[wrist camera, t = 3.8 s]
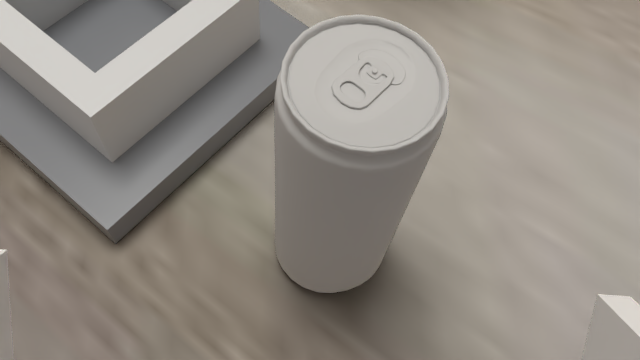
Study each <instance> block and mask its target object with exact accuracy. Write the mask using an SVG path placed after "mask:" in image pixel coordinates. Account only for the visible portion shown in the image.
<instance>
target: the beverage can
mask: <svg viewBox="0 0 640 360" xmlns="http://www.w3.org/2000/svg"><path fill="white" fill-rule="evenodd" d="M448 100H449V79H448V76H447V73H446V70H445V67H444V64H443V61H442V60H441V58H440V57H439V56H438V54H437V53H436V51H435V50H434V48H433V47H432V46H431V45H430V44H429V43H428V42H427V41H426V40H424V39H423V38H422V37H421V36H420V35H419V34H418V33H416V32H415V31H413V30H411V29H409V28H407V27H406V26H404V25H402V24H400V23H398V22H395V21H391V20H388V19H385V18H382V17H378V16H369V15H360V14H357V15H346V16H337V17H334V18H331V19H328V20H324V21H321V22H319V23H317V24H315V25H314V26H312V27H310V28H309V29H307V30H305V31H304V32H302V34H301V35H300V36H299V37H298V38H297V39H296V40H295V41H294V42H293V43H292V44H291V45H290V47H289V49H288V51H287V53H286V55H285V57H284V59H283V61H282V67H281V71H280V73H279V75H278V77H277V84H276V91H275V104H274V141H275V249H276V256H277V258H278V260H279V263H280V265H281V267H282V269H283V270H284V271H285V272H286V274H287V275H288V276H289V277H290V278H291V279H292V280H293V281H295V282H296V283H298V284H299V285H301V286H302V287H304V288H306V289H309V290H312V291H315V292H323V293H335V292H341V291H346V290H349V289H352V288H354V287H357V286H359V285H361V284H362V283H364V282H365V281H367V280H368V279H369V278H371V277H372V276H373V274H374V273H375V272H376V270H377V269H378V267H379V266H380V264H381V262H382V260H383V258H384V255H385V253H386V251H387V249H388V247H389V245H390V242H391V240H392V238H393V236H394V234H395V232H396V229H397V227H398V225H399V223H400V221H401V219H402V217H403V214H404V212H405V210H406V208H407V206H408V204H409V201H410V199H411V197H412V195H413V193H414V191H415V188H416V186H417V184H418V182H419V180H420V178H421V175H422V173H423V171H424V169H425V167H426V165H427V162H428V160H429V158H430V156H431V154H432V152H433V149H434V147H435V145H436V143H437V141H438V139H439V137H440V134H441V131H442V128H443V125H444V121H445V118H446V115H447V103H448Z"/></svg>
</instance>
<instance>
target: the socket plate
mask: <svg viewBox="0 0 640 360" xmlns="http://www.w3.org/2000/svg"><path fill="white" fill-rule="evenodd" d="M307 29H309V27H308V26H306V25H305V24H303V23H302V22H300V21H299V20H297V19H296V18H294V17H293V16H292V15H290V14H289V13H287V12H286V11H284V10H283V9H281V8H280V7H278V6H277V5H275V4H274V3H273V2H271V1H270V0H0V140H1V141H2V142H3V143H4V144H5V145H6V146H7V147H8V148H10V149H11V150H12V151H13V152H14V153H15V154H16V155H17V156H18V157H20V158H21V159H22V160H23V161H24V162H25V163H26V164H27V165H28V166H30V167H31V168H32V169H33V170H34V171H35V172H36V173H37V174H39V175H40V176H41V177H42V178H43V179H44V180H45V181H46V182H47V183H49V184H50V185H51V186H52V187H53V188H54V189H55V190H56V191H57V192H59V193H60V194H61V195H62V196H63V197H64V198H65V199H66V200H67V201H69V202H70V203H71V204H72V205H73V206H74V207H75V208H76V209H77V210H79V211H80V212H81V213H82V214H83V215H84V216H85V217H86V218H88V219H89V220H90V221H91V222H92V223H93V224H94V225H95V226H96V227H98V228H99V229H100V230H101V231H102V232H103V233H104V234H105V235H106V236H108V237H109V238H110V239H111V240H112V241H113V242H114V243H115V244H116V243H117V242H118V241H119V240H120V239H121V238H123V237H124V236H125V235H126V234H127V233H128V232H129V231H130V230H131V229H132V228H134V227H135V226H136V225H137V224H138V223H139V222H140V221H141V220H142V219H143V218H145V217H146V216H147V215H148V214H149V213H150V212H151V211H152V210H153V209H154V208H156V207H157V206H158V205H159V204H160V203H161V202H162V201H163V200H164V199H165V198H166V197H168V196H169V195H170V194H171V193H172V192H173V191H174V190H175V189H176V188H177V187H179V186H180V185H181V184H182V183H183V182H184V181H185V180H186V179H187V178H188V177H190V176H191V175H192V174H193V173H194V172H195V171H196V170H197V169H198V168H199V167H201V166H202V165H203V164H204V163H205V162H206V161H207V160H208V159H209V158H210V157H212V156H213V155H214V154H215V153H216V152H217V151H218V150H219V149H220V148H221V147H222V146H224V145H225V144H226V143H227V142H228V141H229V140H230V139H231V138H232V137H233V136H235V135H236V134H237V133H238V132H239V131H240V130H241V129H242V128H243V127H244V126H246V125H247V124H248V123H249V122H250V121H251V120H252V119H253V118H254V117H255V116H257V115H258V114H259V113H260V112H261V111H262V110H263V109H264V108H265V107H266V106H268V105H269V104H270V103H271V102H272V101H273V100H274V99H275V91H276V84H277V77H278V75H279V73H280V71H281V67H282V61H283V59H284V57H285V55H286V53H287V51H288V49H289V47H290V45H291V44H292V43H293V42H294V41H295V40H296V39H297V38H298V37H299V36H300V35H301V34H302V32H304V31H305V30H307Z"/></svg>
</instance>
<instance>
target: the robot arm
mask: <svg viewBox="0 0 640 360" xmlns="http://www.w3.org/2000/svg"><path fill="white" fill-rule="evenodd" d="M0 360H14V353H13V337H12V322H11V306H10V290H9V274H8V258H7V250H2V249H0ZM581 360H640V305H639V304H638V303H637V302H636V301H635V300H634V299H632V298H631V297H629V296H616V295H603V294H597V297H596V302H595V306H594V310H593V314H592V318H591V322H590V326H589V330H588V334H587V338H586V343H585V347H584V351H583V355H582V359H581Z"/></svg>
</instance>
